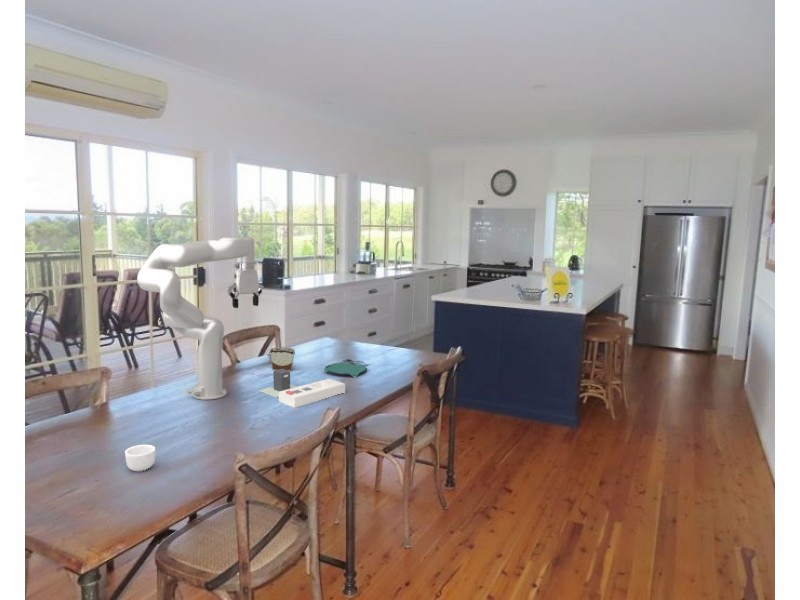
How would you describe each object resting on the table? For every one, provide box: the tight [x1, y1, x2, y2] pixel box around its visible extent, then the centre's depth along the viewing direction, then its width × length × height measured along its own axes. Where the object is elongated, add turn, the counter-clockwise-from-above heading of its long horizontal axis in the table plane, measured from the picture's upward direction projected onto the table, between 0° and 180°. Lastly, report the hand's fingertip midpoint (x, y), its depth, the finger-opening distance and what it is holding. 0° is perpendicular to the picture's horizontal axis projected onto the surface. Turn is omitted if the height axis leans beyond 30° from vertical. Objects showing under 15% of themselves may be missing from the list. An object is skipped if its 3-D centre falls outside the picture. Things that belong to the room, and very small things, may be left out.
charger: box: [273, 369, 291, 391], centre depth 226 cm, size 4×6×8 cm
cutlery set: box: [323, 358, 368, 378], centre depth 263 cm, size 20×30×2 cm, turn 163°
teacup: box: [124, 444, 156, 472], centre depth 155 cm, size 10×8×5 cm
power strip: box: [278, 378, 346, 409], centre depth 220 cm, size 26×10×5 cm, turn 139°
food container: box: [269, 346, 296, 372], centre depth 259 cm, size 12×6×10 cm, turn 84°
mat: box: [259, 383, 297, 399], centre depth 227 cm, size 14×12×1 cm
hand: (245, 306), depth 232 cm, fingers open, 9 cm apart
